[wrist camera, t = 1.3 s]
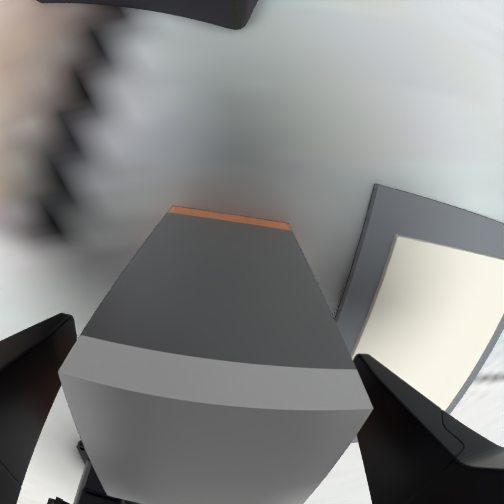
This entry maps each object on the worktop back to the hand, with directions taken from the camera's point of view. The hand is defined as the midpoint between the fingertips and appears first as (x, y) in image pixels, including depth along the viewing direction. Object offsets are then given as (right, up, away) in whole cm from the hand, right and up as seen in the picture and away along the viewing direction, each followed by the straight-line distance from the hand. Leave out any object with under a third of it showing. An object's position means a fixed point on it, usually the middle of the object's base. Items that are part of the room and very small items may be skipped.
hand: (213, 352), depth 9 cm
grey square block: (0, +2, +5) cm, 6 cm away
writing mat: (+12, -3, +8) cm, 15 cm away
